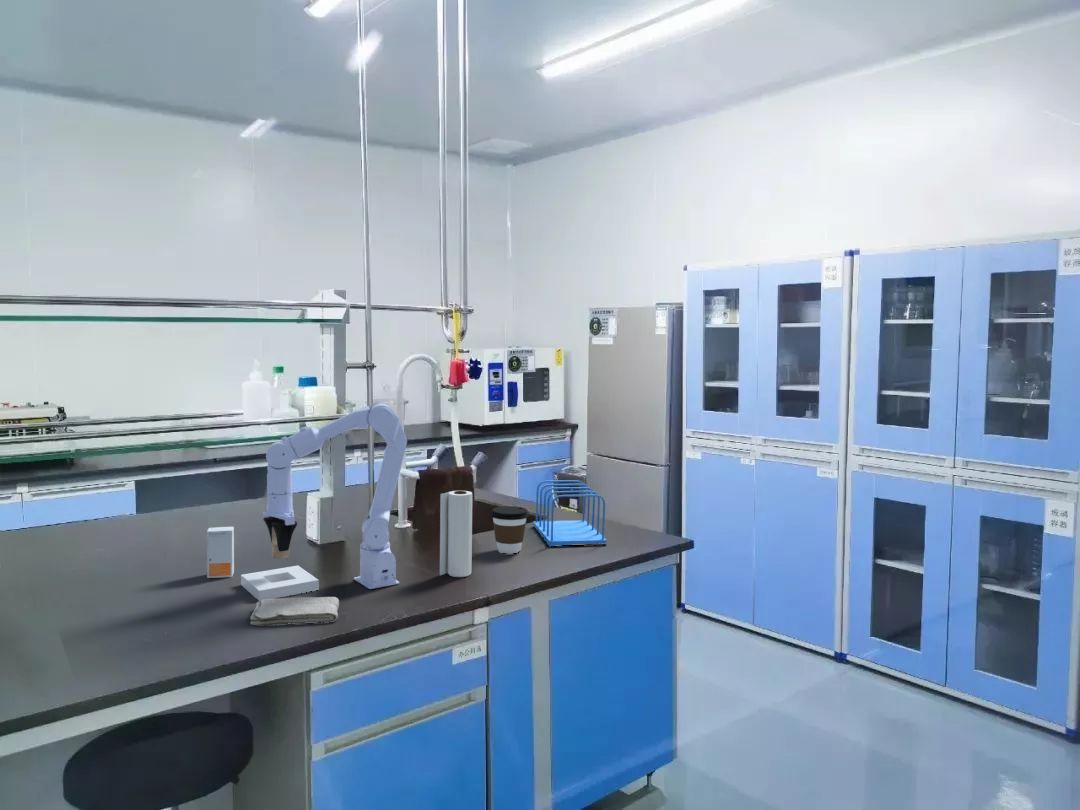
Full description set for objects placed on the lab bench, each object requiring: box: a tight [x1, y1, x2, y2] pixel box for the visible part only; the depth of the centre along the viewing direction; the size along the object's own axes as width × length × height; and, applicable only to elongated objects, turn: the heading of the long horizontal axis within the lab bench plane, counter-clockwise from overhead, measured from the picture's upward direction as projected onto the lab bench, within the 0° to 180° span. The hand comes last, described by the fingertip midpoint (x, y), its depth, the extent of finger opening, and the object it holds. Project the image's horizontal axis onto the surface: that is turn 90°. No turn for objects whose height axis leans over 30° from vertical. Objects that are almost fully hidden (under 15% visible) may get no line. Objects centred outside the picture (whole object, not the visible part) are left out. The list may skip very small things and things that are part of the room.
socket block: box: [240, 565, 320, 602], centre depth 190 cm, size 14×14×2 cm
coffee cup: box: [490, 505, 530, 554], centre depth 224 cm, size 11×11×12 cm
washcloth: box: [249, 596, 340, 627], centre depth 172 cm, size 12×18×3 cm, turn 102°
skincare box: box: [206, 526, 235, 579], centre depth 198 cm, size 6×4×12 cm
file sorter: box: [532, 479, 607, 547], centre depth 243 cm, size 25×17×15 cm
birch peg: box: [271, 527, 291, 560], centre depth 190 cm, size 4×4×7 cm
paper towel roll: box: [439, 490, 473, 578], centre depth 202 cm, size 7×6×21 cm
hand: (280, 548), depth 190 cm, fingers closed on birch peg, 4 cm apart
